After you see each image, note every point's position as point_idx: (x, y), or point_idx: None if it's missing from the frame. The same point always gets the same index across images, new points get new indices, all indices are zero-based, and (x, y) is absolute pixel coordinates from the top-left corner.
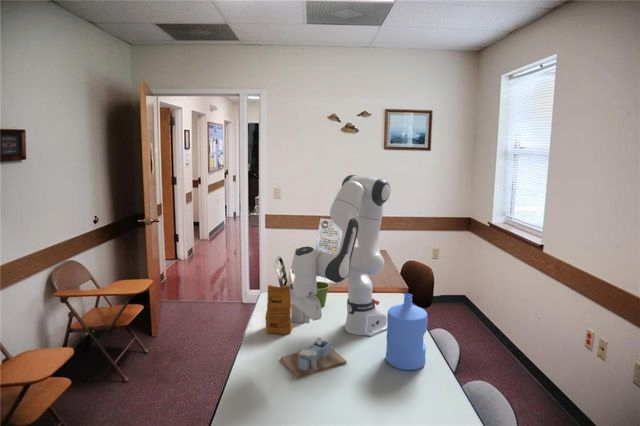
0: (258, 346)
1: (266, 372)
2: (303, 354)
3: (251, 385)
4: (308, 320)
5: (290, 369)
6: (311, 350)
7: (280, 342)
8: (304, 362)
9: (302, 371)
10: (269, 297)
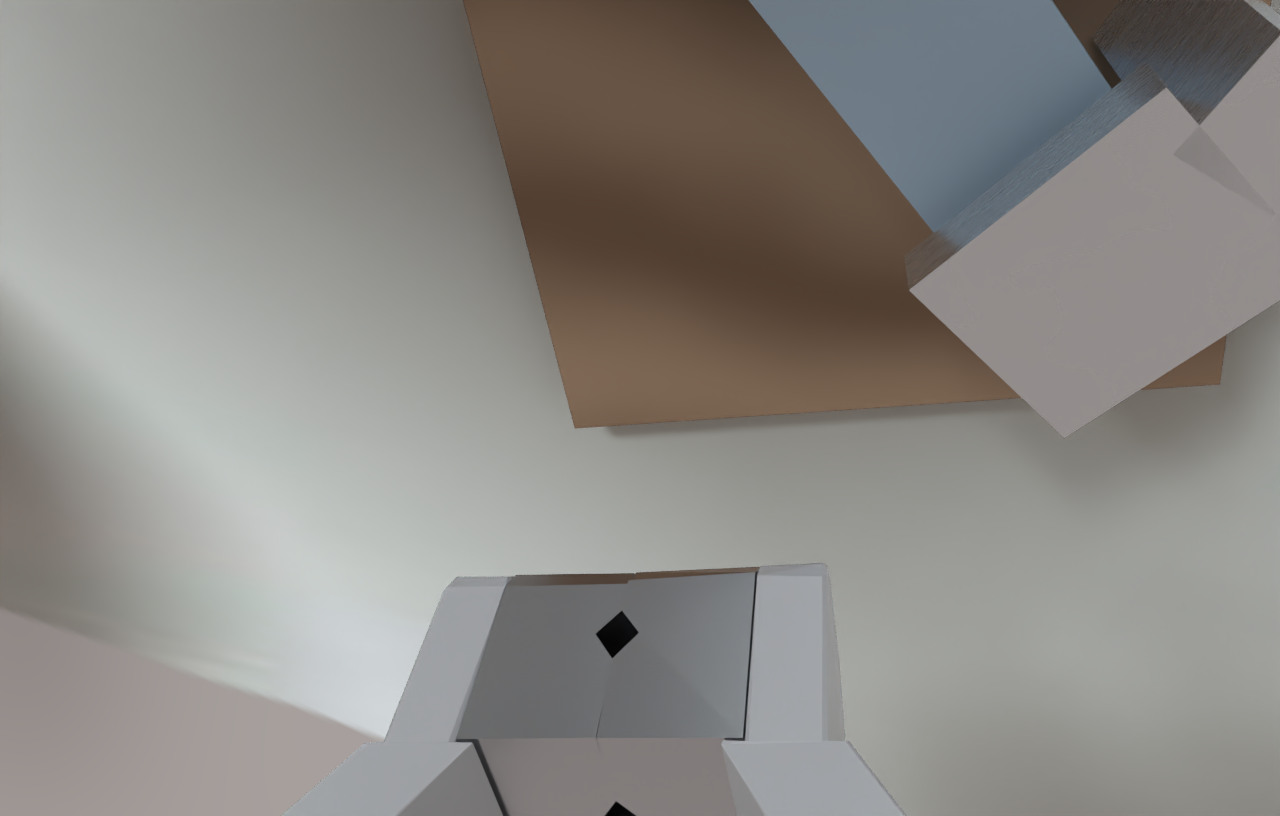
0: (152, 534)
1: None
2: (1158, 371)
3: (1022, 793)
4: (834, 705)
5: (970, 394)
6: (859, 21)
7: (35, 248)
8: None
9: None
10: None
